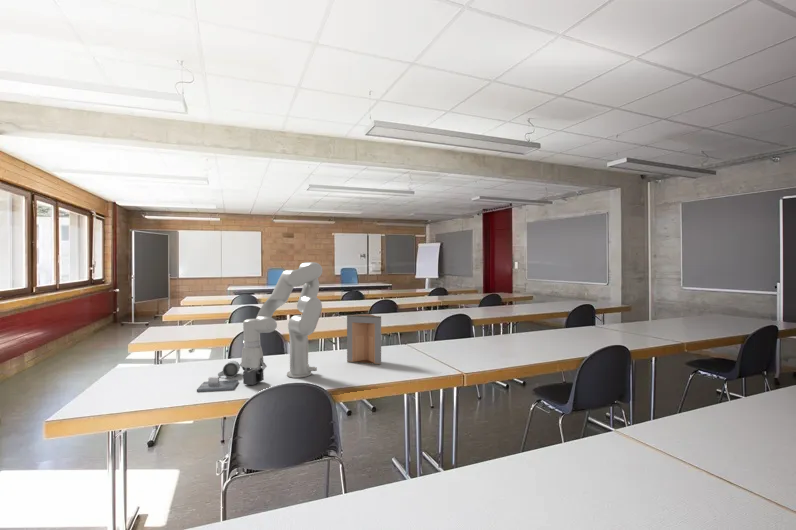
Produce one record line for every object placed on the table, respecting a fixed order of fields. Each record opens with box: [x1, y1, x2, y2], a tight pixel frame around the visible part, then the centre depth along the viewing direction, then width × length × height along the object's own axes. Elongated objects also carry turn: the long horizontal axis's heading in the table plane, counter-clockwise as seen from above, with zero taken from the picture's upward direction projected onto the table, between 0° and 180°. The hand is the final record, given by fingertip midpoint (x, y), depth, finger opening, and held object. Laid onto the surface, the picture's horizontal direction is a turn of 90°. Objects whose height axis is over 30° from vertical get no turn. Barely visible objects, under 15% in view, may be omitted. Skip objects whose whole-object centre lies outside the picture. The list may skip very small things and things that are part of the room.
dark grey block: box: [242, 368, 265, 386], centre depth 202 cm, size 8×6×6 cm
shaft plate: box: [196, 376, 239, 393], centre depth 197 cm, size 16×12×5 cm
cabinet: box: [346, 313, 382, 366], centre depth 244 cm, size 21×10×28 cm, turn 73°
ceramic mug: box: [217, 360, 241, 378], centre depth 216 cm, size 11×8×8 cm
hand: (253, 380), depth 202 cm, fingers closed on dark grey block, 5 cm apart
